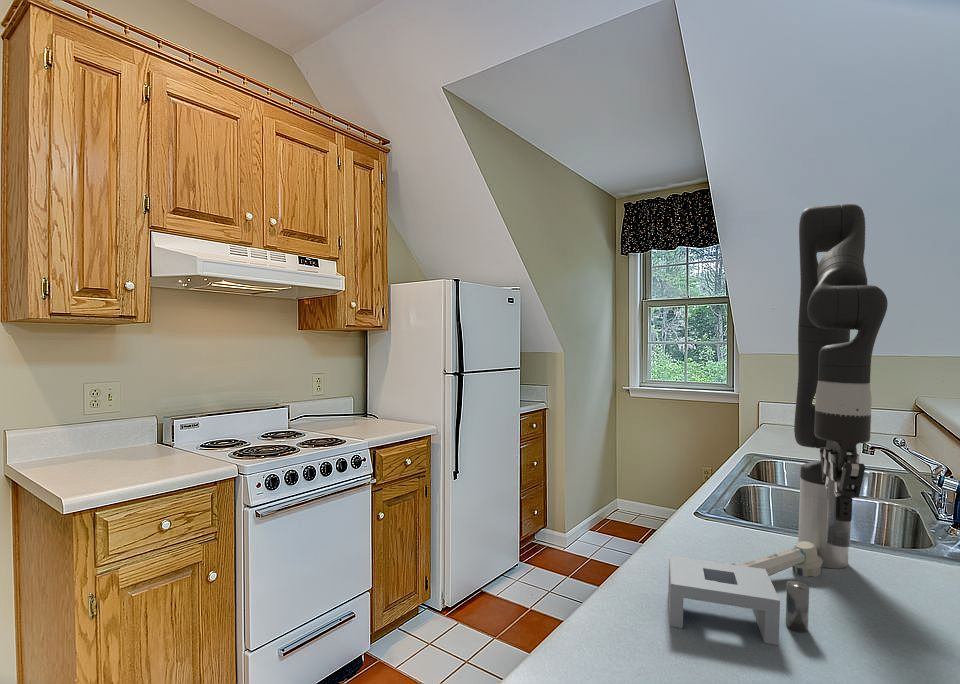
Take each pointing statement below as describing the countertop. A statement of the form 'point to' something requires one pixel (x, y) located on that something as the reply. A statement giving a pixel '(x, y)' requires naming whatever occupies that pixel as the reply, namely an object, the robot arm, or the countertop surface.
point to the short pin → (797, 606)
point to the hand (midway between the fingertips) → (838, 516)
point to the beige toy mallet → (790, 561)
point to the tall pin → (836, 529)
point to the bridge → (724, 591)
